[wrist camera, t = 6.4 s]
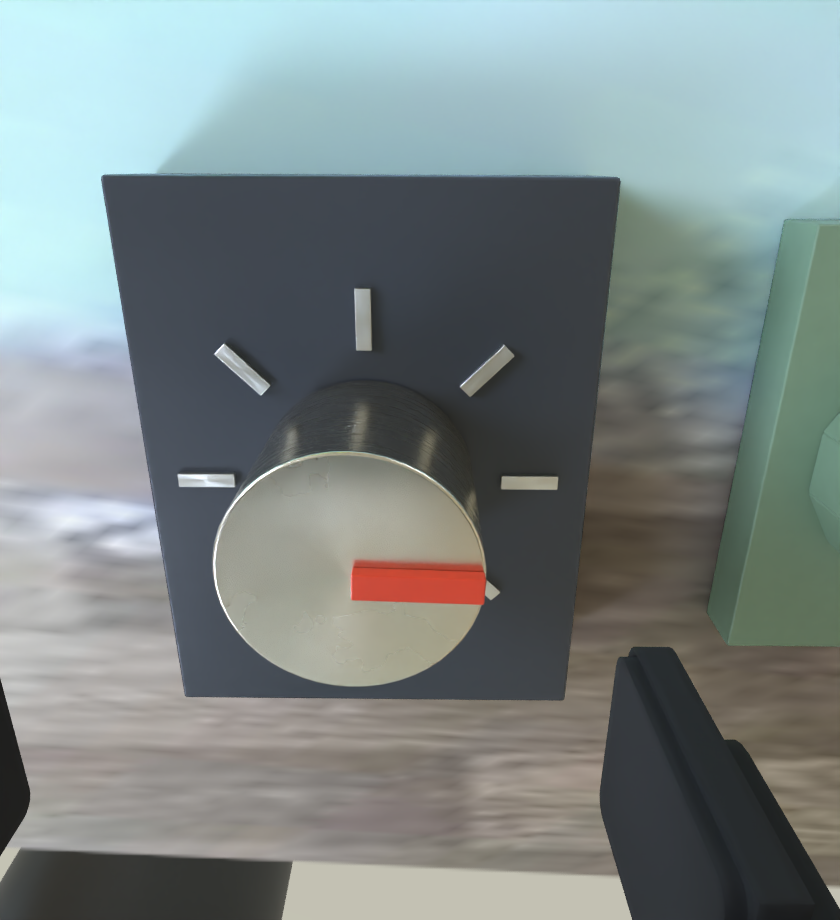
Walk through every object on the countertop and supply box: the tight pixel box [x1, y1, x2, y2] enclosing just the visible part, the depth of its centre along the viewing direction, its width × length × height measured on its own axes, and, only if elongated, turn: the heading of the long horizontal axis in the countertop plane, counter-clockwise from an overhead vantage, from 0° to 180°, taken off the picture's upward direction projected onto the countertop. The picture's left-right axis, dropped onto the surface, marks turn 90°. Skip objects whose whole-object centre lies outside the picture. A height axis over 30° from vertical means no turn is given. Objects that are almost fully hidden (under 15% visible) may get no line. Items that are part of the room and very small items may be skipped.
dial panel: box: [101, 174, 621, 700], centre depth 19 cm, size 14×11×3 cm
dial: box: [212, 380, 487, 687], centre depth 15 cm, size 5×5×5 cm
